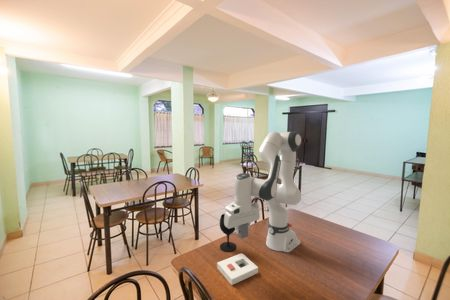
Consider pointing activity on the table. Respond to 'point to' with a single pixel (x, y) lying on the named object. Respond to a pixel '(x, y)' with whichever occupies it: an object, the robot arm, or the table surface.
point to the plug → (243, 231)
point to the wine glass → (227, 245)
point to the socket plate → (237, 268)
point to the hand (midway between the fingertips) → (242, 231)
